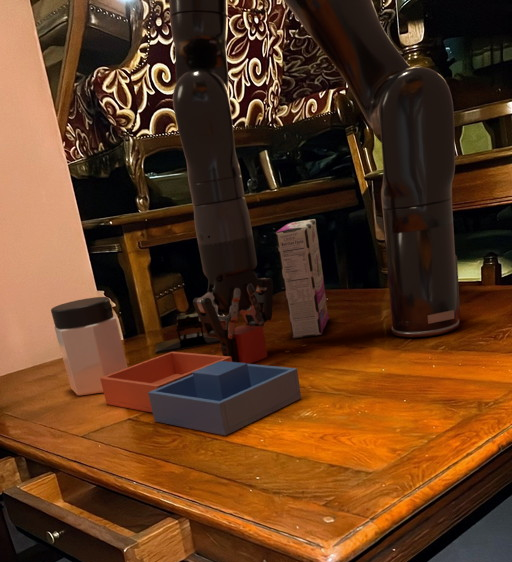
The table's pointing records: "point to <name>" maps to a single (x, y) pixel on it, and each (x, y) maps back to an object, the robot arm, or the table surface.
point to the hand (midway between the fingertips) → (245, 358)
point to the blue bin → (226, 401)
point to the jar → (88, 342)
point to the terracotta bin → (152, 378)
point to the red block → (250, 343)
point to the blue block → (221, 380)
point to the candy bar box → (303, 278)
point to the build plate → (186, 340)
